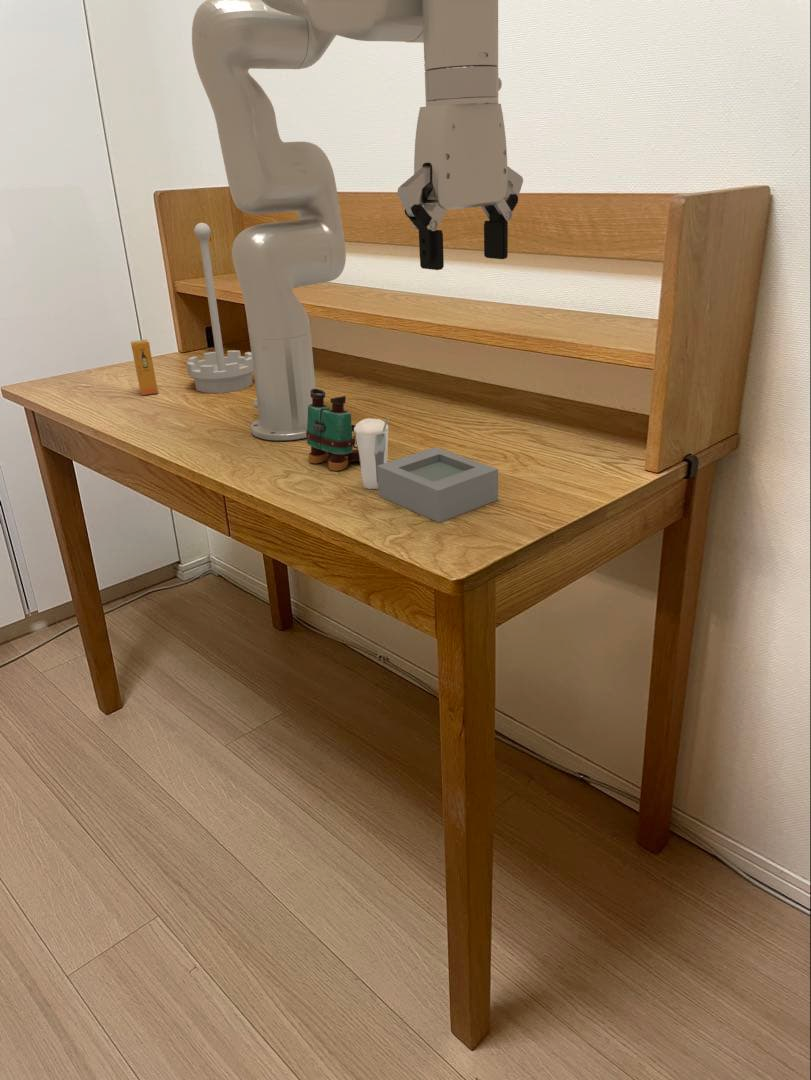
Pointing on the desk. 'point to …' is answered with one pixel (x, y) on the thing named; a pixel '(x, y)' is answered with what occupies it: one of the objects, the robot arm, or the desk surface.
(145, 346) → the supplement box
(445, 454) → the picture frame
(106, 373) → the desk surface
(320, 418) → the binoculars
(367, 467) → the milkshake
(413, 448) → the desk surface
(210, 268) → the flag stand
